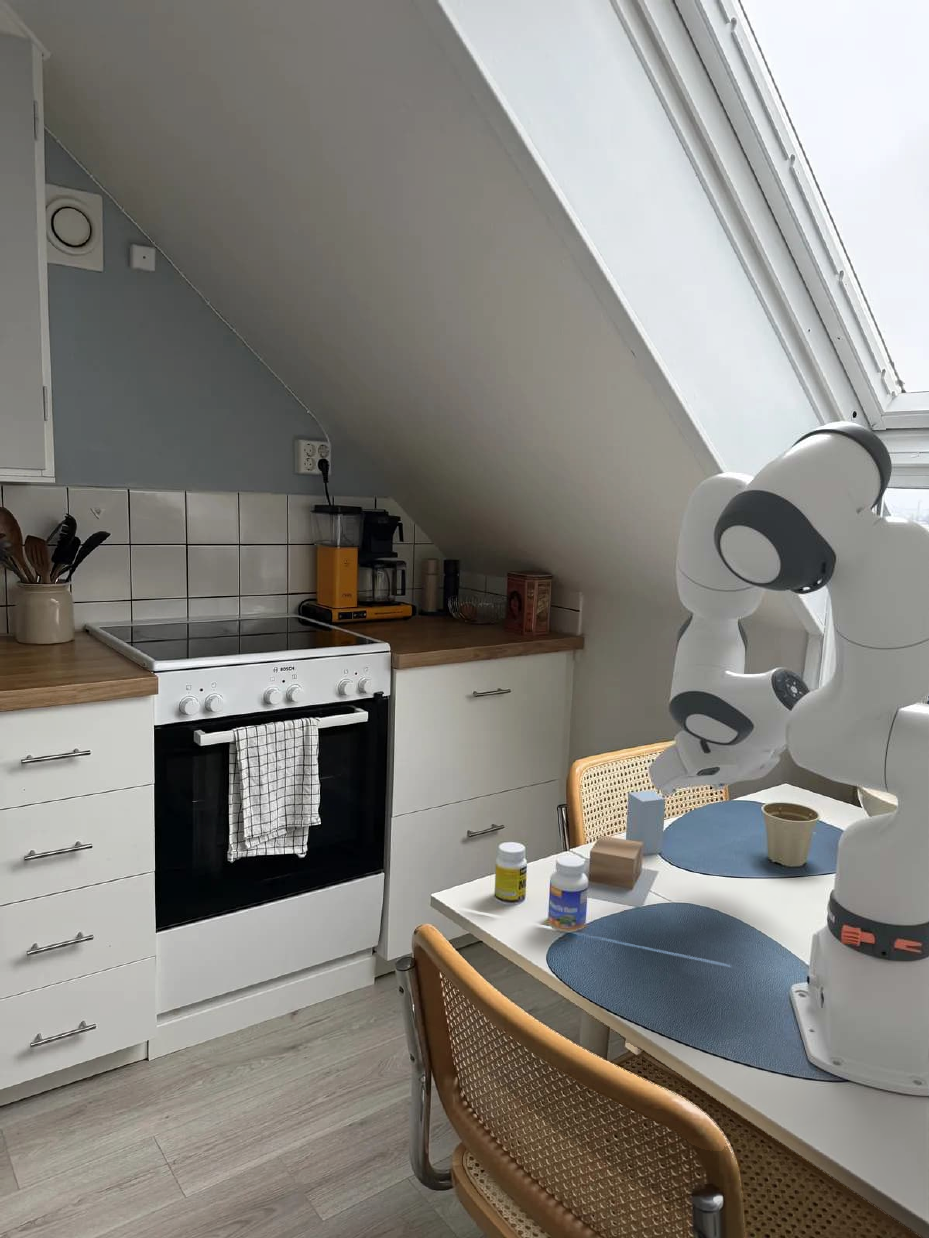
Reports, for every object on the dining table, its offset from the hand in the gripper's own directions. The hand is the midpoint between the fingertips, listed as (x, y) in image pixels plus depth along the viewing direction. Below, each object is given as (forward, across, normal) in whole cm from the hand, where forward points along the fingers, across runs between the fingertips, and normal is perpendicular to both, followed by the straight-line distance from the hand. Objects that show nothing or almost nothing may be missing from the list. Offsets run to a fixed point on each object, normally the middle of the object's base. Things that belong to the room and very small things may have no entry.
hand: (691, 788), depth 146 cm
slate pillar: (+20, 0, +2) cm, 20 cm away
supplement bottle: (+13, +29, +9) cm, 33 cm away
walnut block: (+13, +10, +8) cm, 19 cm away
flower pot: (+12, -22, +10) cm, 27 cm away
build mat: (+13, +12, +9) cm, 19 cm away
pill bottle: (+6, +25, +16) cm, 30 cm away
